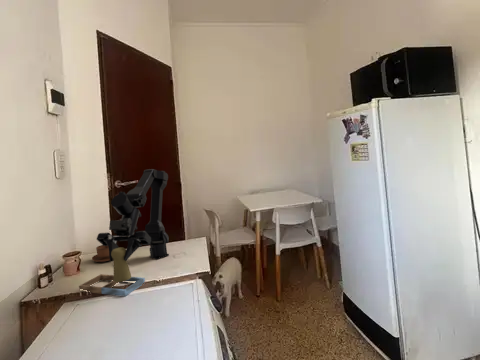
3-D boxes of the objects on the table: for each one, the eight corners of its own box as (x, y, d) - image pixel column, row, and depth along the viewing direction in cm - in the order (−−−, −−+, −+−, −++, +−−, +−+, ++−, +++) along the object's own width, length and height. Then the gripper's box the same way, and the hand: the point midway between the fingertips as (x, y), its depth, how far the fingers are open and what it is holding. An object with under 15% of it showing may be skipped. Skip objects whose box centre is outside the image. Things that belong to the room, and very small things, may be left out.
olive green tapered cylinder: (129, 280, 118) (125, 250, 116) (111, 283, 117) (107, 252, 116) (132, 273, 124) (128, 244, 122) (115, 276, 123) (111, 246, 122)
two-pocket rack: (79, 291, 121) (78, 285, 121) (101, 279, 131) (101, 274, 131) (125, 296, 114) (124, 290, 113) (145, 283, 123) (144, 277, 123)
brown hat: (93, 258, 159) (91, 245, 158) (120, 253, 163) (118, 240, 162) (91, 266, 148) (89, 252, 147) (120, 260, 151) (118, 247, 151)
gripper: (95, 211, 123) (81, 251, 113) (143, 208, 119) (132, 249, 110) (110, 226, 131) (98, 264, 122) (155, 224, 128) (146, 263, 119)
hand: (117, 260), depth 118 cm, fingers closed on olive green tapered cylinder, 5 cm apart
